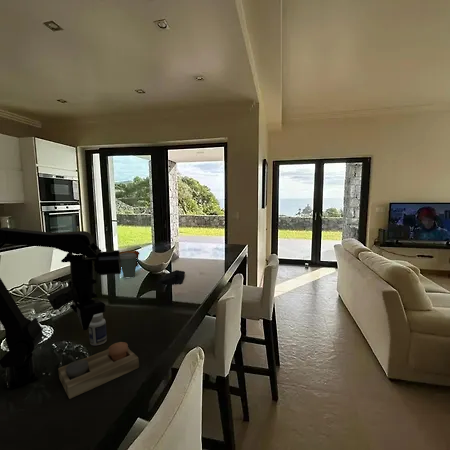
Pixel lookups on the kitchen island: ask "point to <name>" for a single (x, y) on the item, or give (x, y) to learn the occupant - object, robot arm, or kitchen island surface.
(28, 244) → the robot arm
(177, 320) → the kitchen island surface
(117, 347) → the terracotta plug
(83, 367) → the plug
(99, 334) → the pill bottle
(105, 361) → the plug board
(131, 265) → the disposable coffee cup
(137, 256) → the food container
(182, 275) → the dark slate chunk
